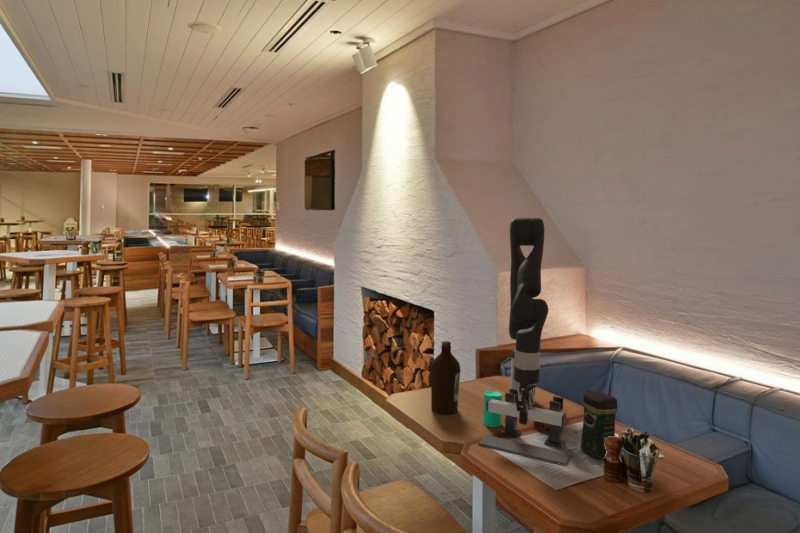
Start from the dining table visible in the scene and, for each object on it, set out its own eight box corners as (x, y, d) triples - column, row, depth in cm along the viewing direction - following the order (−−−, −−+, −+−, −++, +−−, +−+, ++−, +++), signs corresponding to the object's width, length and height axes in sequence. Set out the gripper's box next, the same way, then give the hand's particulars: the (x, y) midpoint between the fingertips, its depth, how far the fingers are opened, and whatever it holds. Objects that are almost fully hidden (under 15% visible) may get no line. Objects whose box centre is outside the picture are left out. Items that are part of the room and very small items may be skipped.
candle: (500, 427, 173) (502, 392, 172) (482, 426, 175) (483, 391, 174) (501, 421, 179) (502, 387, 178) (483, 419, 181) (484, 385, 180)
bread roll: (563, 437, 175) (566, 413, 178) (560, 435, 167) (563, 409, 169) (534, 432, 180) (536, 408, 182) (529, 429, 171) (532, 404, 173)
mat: (486, 436, 166) (486, 434, 166) (570, 455, 154) (570, 453, 153) (478, 444, 160) (478, 442, 160) (565, 465, 147) (565, 463, 147)
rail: (489, 408, 163) (489, 398, 162) (565, 423, 152) (566, 413, 151) (486, 411, 160) (486, 401, 160) (563, 426, 149) (564, 416, 149)
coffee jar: (619, 458, 153) (623, 396, 151) (597, 462, 150) (601, 399, 148) (596, 444, 162) (600, 386, 160) (575, 448, 159) (578, 388, 157)
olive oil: (427, 413, 185) (429, 344, 182) (431, 403, 195) (433, 338, 193) (457, 416, 183) (460, 346, 180) (460, 406, 193) (462, 339, 191)
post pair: (505, 429, 172) (507, 387, 171) (564, 441, 163) (566, 398, 162) (500, 434, 168) (502, 392, 166) (560, 448, 158) (563, 403, 157)
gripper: (521, 358, 162) (518, 412, 164) (507, 368, 150) (505, 427, 152) (545, 361, 159) (542, 416, 160) (533, 373, 147) (530, 432, 148)
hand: (524, 421), depth 156 cm, fingers closed on rail, 3 cm apart
